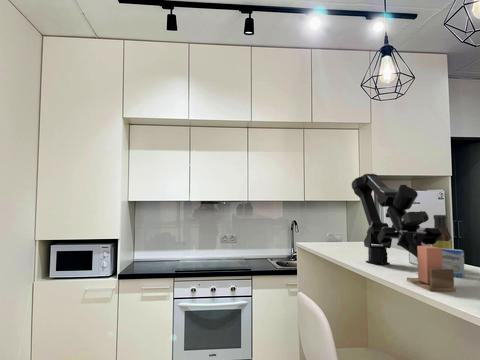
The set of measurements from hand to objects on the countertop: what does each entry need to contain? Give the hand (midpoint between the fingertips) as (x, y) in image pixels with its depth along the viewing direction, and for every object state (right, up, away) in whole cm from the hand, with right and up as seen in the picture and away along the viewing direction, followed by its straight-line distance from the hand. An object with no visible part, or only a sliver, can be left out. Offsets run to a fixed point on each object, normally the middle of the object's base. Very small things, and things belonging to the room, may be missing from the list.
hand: (420, 257), depth 94 cm
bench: (0, -7, -5) cm, 8 cm away
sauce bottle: (+19, -9, +18) cm, 28 cm away
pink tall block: (0, -6, -5) cm, 8 cm away
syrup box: (+16, -10, +27) cm, 33 cm away
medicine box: (+16, -8, +10) cm, 20 cm away
